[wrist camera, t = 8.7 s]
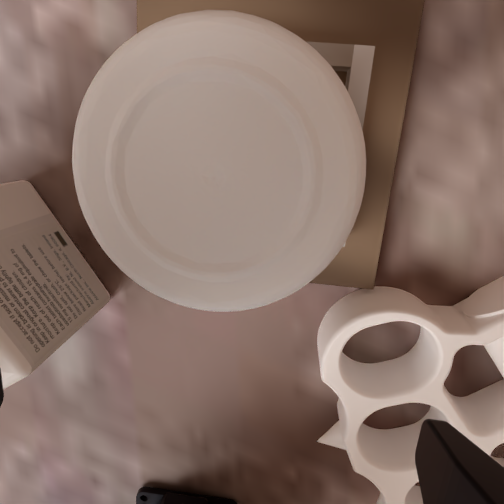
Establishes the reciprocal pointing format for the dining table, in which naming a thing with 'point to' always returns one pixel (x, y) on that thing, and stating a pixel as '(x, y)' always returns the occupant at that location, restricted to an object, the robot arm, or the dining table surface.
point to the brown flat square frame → (358, 86)
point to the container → (39, 283)
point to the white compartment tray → (410, 380)
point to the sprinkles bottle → (219, 160)
